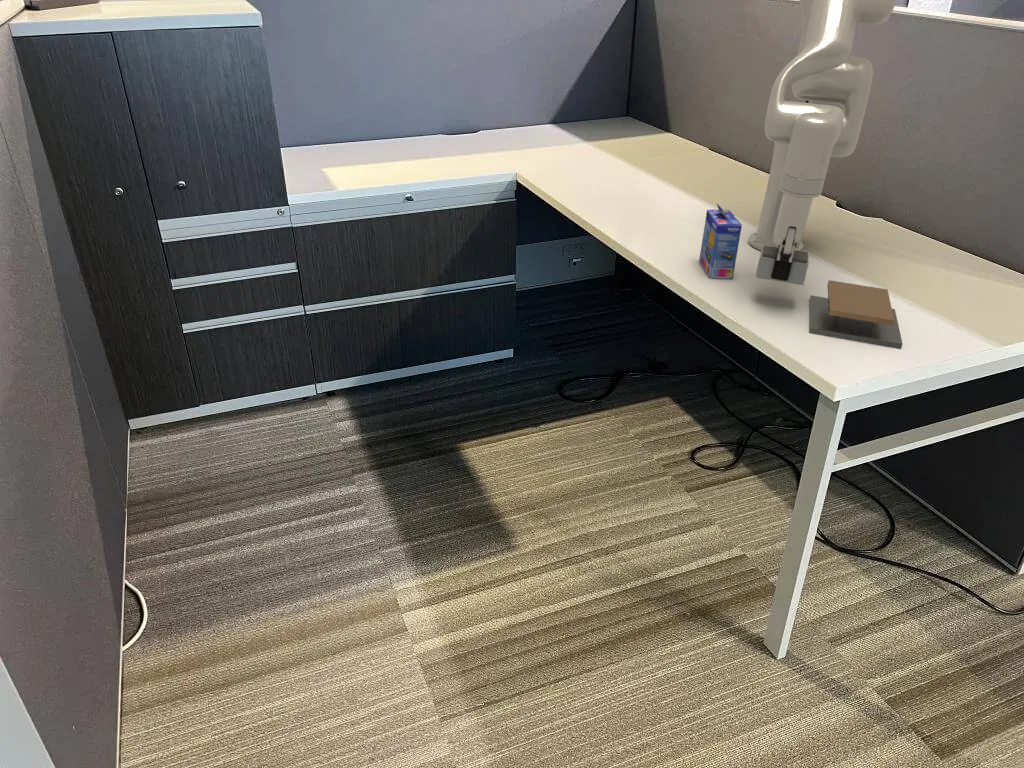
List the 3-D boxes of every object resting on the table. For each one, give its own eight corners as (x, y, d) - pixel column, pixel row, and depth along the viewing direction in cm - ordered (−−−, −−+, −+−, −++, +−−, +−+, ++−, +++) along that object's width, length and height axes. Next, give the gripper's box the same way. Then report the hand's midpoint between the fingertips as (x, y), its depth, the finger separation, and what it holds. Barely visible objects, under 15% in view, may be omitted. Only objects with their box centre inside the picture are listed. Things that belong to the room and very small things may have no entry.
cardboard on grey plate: (809, 299, 156) (815, 277, 153) (893, 313, 152) (901, 290, 149) (809, 332, 143) (815, 308, 140) (901, 348, 139) (909, 324, 136)
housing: (757, 267, 155) (762, 244, 152) (803, 275, 152) (809, 251, 150) (755, 277, 151) (760, 254, 148) (803, 285, 148) (809, 261, 146)
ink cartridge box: (696, 261, 172) (707, 198, 164) (720, 262, 172) (733, 199, 165) (707, 278, 163) (720, 213, 156) (733, 279, 164) (746, 214, 156)
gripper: (782, 168, 149) (763, 254, 159) (778, 194, 136) (757, 287, 145) (822, 173, 147) (800, 260, 157) (823, 200, 134) (798, 294, 143)
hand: (780, 272), depth 151 cm, fingers closed on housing, 5 cm apart
